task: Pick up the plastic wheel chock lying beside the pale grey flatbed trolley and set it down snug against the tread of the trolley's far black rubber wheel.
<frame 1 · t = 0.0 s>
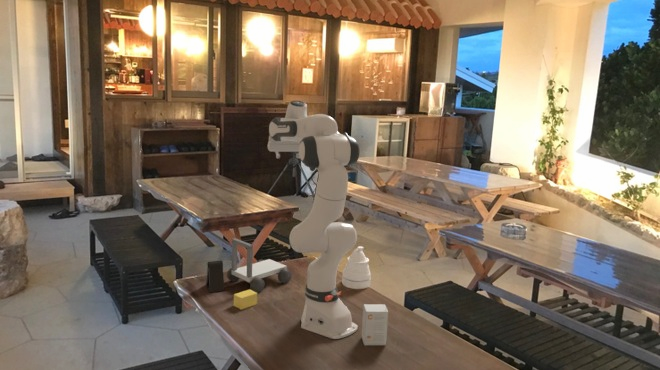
hand: (287, 157, 248), 54 cm above the table, tool tilted 30°, fingers open, 8 cm apart
flatbed trolley: (259, 281, 243), on the table
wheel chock: (245, 305, 218), on the table
phone stand: (215, 288, 233), on the table
small box: (373, 341, 194), on the table
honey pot: (356, 283, 246), on the table
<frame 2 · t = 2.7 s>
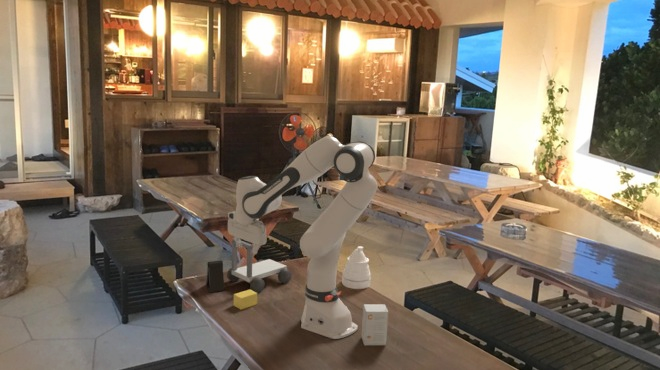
hand: (246, 250, 214), 23 cm above the table, tool pointing down, fingers open, 8 cm apart
nothing on the table moved.
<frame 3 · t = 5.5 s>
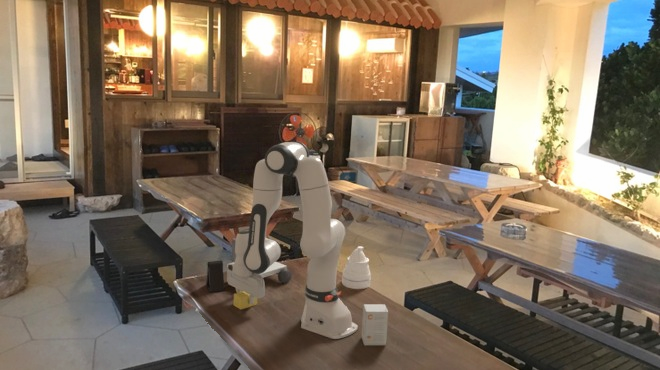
hand: (245, 301, 218), 2 cm above the table, tool pointing down, fingers closed on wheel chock, 5 cm apart
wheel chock: (245, 305, 218), on the table, touching gripper
everything else where it was.
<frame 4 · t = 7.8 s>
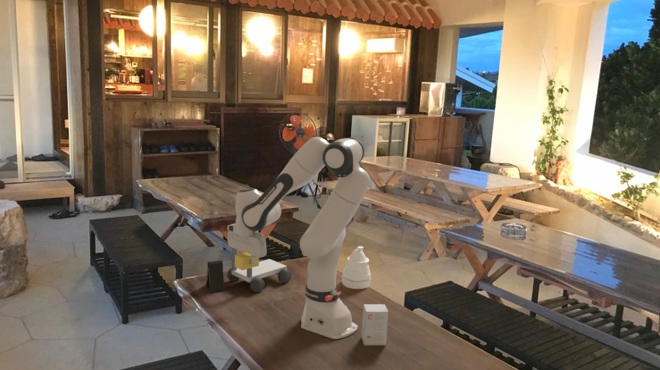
hand: (247, 262, 214), 18 cm above the table, tool pointing down, fingers closed on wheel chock, 5 cm apart
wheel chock: (247, 266, 215), point 16 cm above the table, touching gripper
everything else where it was.
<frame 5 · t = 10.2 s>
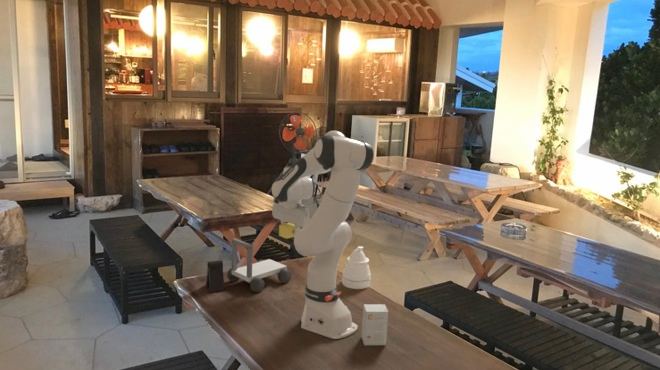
hand: (289, 232, 239), 24 cm above the table, tool pointing down, fingers closed on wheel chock, 5 cm apart
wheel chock: (289, 235, 239), point 22 cm above the table, touching gripper
everything else where it was.
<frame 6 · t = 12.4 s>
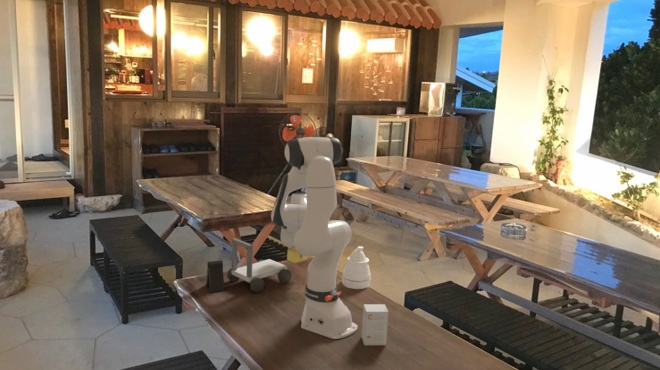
hand: (297, 256, 247), 11 cm above the table, tool pointing down, fingers closed on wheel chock, 5 cm apart
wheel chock: (297, 259, 247), point 9 cm above the table, touching gripper
everything else where it was.
when the fingers open (3 cm above the table, at t = 14.4 s): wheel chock drops 2 cm, on the table.
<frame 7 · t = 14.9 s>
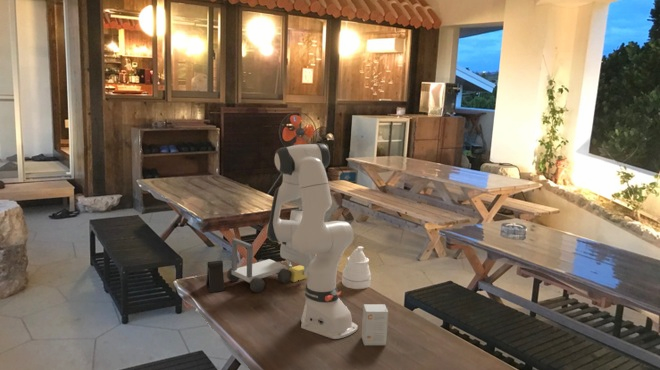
hand: (297, 271, 248), 3 cm above the table, tool pointing down, fingers open, 8 cm apart
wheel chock: (296, 278, 249), on the table
everything else where it was.
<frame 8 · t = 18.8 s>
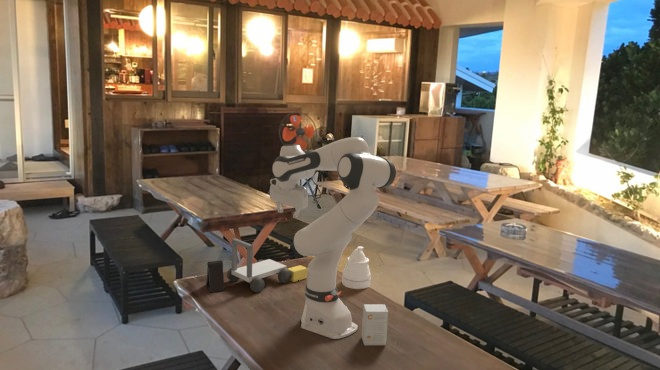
hand: (288, 214, 227), 34 cm above the table, tool pointing down, fingers open, 8 cm apart
nothing on the table moved.
at the end: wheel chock 0.1 cm from the target spot, on the table; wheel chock tilted 0°; the gripper is holding nothing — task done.
